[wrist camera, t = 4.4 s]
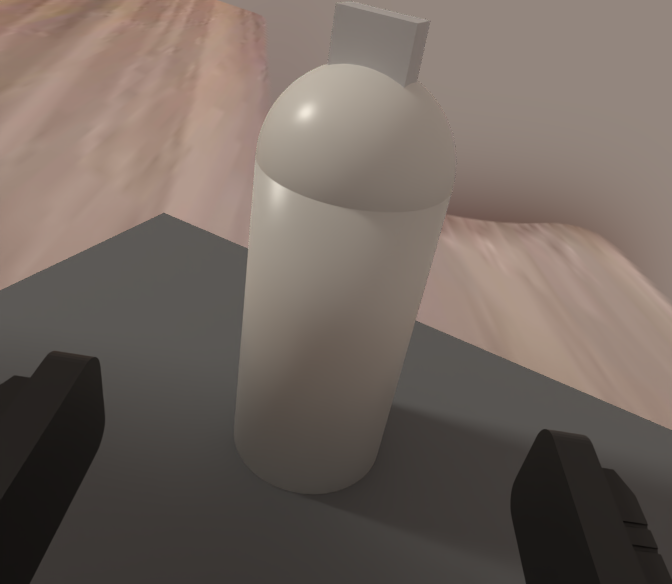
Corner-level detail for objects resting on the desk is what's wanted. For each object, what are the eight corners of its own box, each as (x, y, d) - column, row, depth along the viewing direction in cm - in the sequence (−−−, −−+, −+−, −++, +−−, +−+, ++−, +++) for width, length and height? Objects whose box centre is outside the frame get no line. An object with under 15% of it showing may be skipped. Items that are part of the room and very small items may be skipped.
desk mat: (-225, 409, 17) (-230, 399, 17) (164, 220, 29) (163, 212, 29) (647, 1087, 9) (659, 1085, 9) (674, 441, 21) (679, 433, 21)
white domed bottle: (202, 445, 18) (219, -9, 11) (285, 364, 21) (336, -16, 14) (336, 522, 16) (454, 53, 9) (400, 420, 20) (520, 28, 13)
